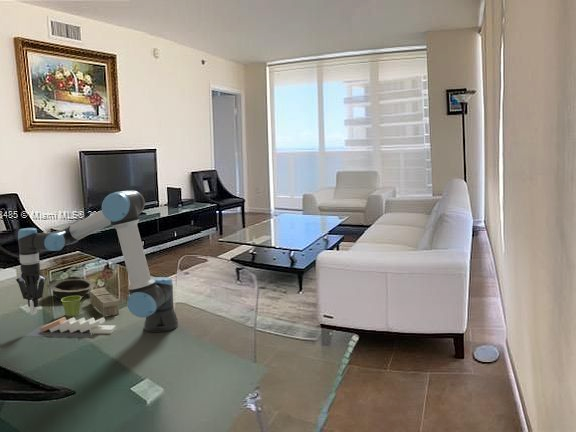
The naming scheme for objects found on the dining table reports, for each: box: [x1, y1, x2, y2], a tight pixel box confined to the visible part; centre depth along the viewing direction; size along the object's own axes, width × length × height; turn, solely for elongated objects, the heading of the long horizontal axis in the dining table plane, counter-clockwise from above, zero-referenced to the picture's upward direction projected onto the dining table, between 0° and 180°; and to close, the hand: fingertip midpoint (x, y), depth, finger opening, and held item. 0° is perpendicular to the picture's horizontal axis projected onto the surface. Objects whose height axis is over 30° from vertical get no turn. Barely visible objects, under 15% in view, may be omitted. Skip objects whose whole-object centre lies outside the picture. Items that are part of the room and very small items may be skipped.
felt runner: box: [25, 324, 94, 338], centre depth 213 cm, size 30×14×1 cm, turn 87°
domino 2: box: [49, 316, 77, 332], centre depth 213 cm, size 2×5×10 cm
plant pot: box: [60, 296, 83, 318], centre depth 234 cm, size 9×9×9 cm
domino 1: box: [40, 316, 67, 332], centre depth 213 cm, size 2×5×10 cm
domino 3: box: [59, 317, 87, 333], centre depth 212 cm, size 2×5×10 cm
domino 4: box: [69, 317, 96, 333], centre depth 212 cm, size 2×5×10 cm
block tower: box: [89, 287, 120, 317], centre depth 244 cm, size 8×8×29 cm
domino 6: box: [90, 324, 117, 334], centre depth 212 cm, size 2×5×10 cm
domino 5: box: [79, 316, 106, 333], centre depth 212 cm, size 2×5×10 cm
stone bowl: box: [46, 276, 97, 300], centre depth 266 cm, size 25×25×9 cm
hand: (33, 313), depth 213 cm, fingers closed
